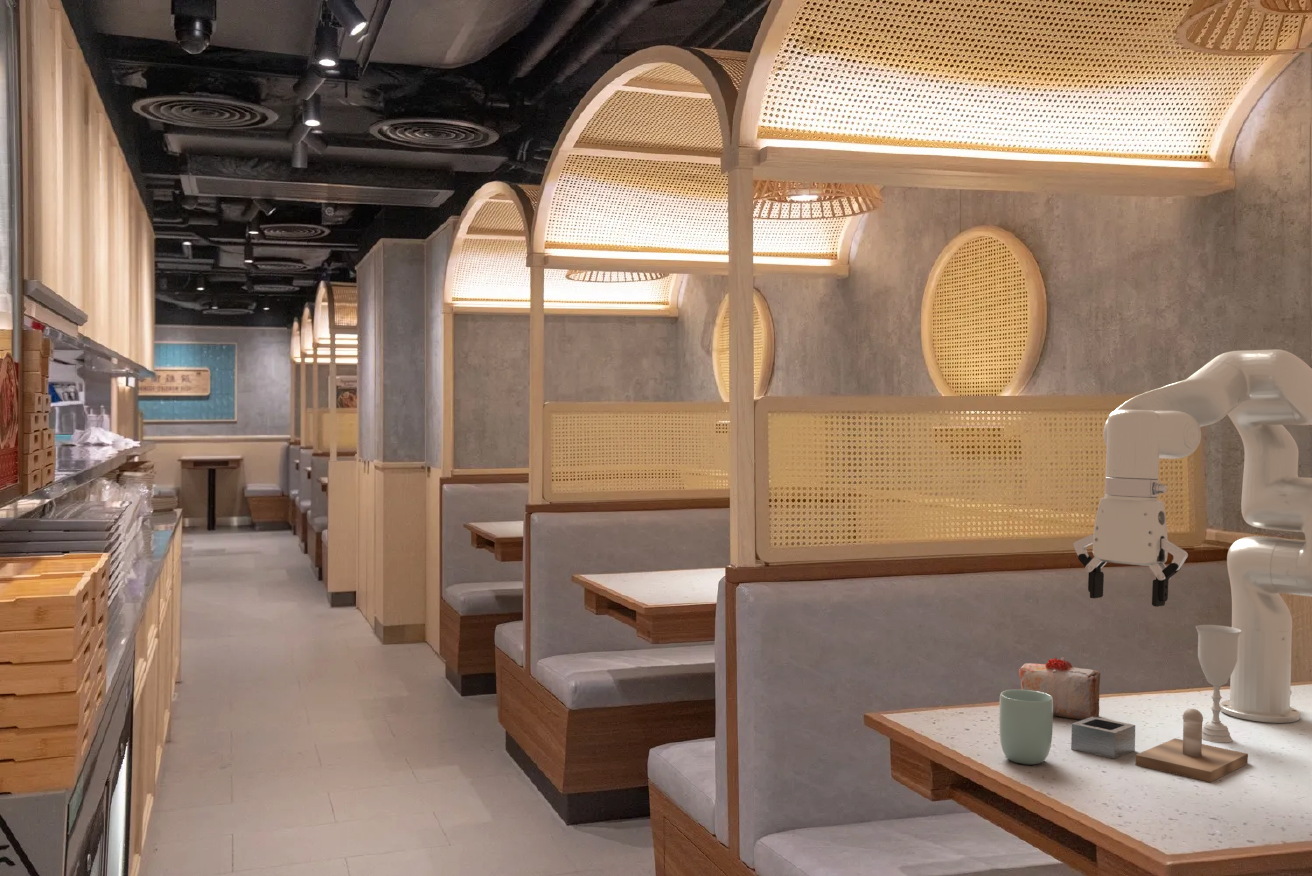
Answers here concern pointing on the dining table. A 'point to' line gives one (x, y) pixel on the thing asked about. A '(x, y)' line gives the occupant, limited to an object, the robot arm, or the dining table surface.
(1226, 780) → the dining table surface
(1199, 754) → the brown flat pegged piece
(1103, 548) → the robot arm
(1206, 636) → the chalice
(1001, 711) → the cup
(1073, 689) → the food item
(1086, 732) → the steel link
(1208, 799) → the dining table surface
